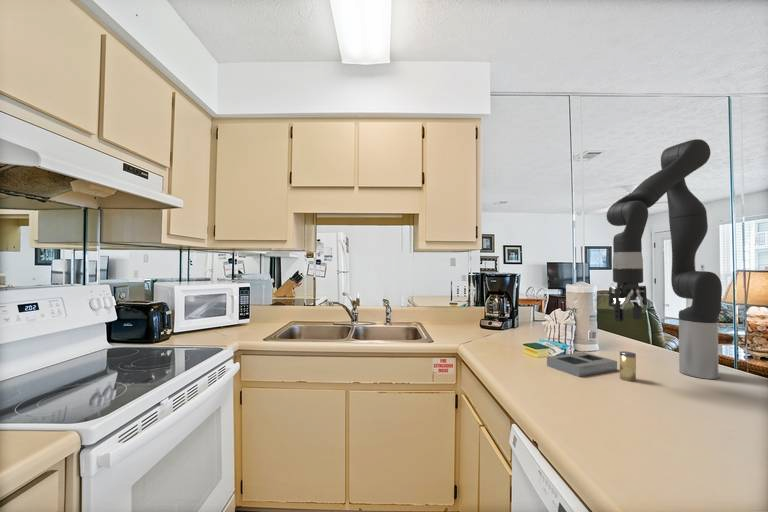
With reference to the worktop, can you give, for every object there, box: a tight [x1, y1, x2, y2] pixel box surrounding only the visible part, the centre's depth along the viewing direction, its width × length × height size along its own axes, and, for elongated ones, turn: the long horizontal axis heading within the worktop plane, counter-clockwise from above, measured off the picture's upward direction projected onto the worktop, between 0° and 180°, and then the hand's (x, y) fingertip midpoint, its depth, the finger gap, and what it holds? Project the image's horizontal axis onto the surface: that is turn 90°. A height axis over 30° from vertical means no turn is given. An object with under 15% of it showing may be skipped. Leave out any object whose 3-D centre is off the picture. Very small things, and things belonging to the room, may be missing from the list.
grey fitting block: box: [546, 351, 618, 377], centre depth 113 cm, size 18×12×3 cm, turn 112°
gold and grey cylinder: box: [619, 350, 637, 383], centre depth 102 cm, size 4×4×8 cm
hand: (628, 320), depth 102 cm, fingers open, 8 cm apart
